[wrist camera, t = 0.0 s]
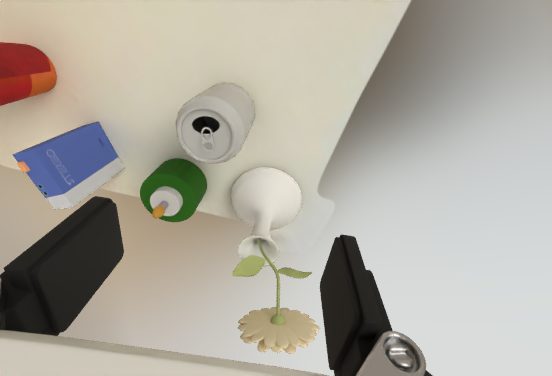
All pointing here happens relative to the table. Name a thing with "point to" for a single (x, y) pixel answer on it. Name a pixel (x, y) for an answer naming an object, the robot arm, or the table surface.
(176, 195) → the candle
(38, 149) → the walkman
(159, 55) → the table surface
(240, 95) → the can
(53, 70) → the coffee cup
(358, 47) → the table surface
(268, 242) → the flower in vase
